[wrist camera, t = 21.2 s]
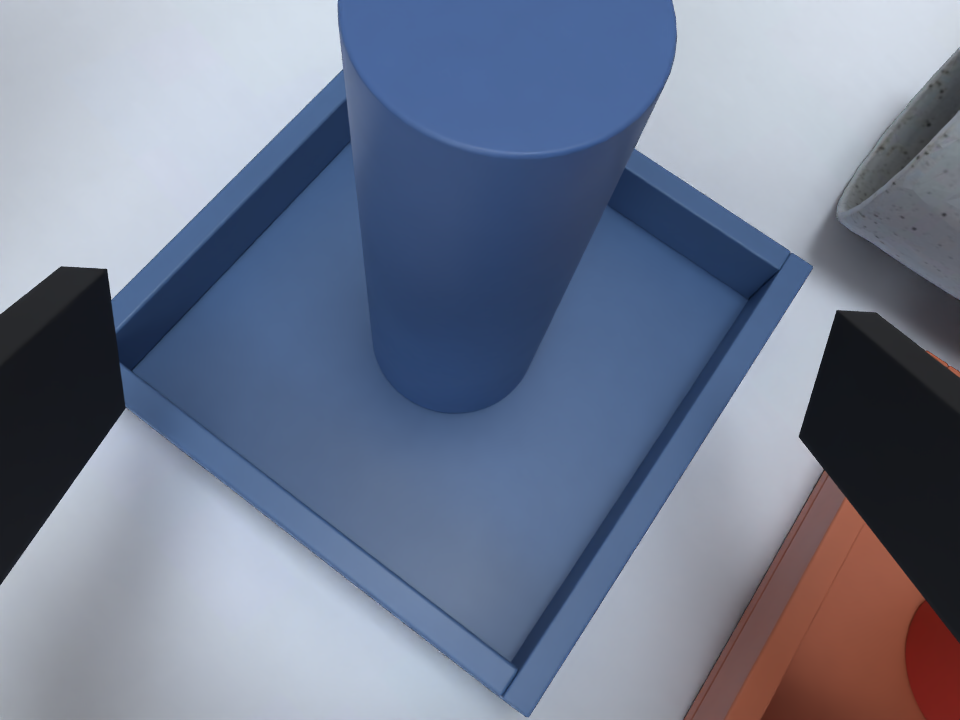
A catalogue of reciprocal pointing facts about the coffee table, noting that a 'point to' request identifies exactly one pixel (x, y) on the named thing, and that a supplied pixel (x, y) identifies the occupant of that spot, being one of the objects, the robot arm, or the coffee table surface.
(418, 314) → the blue peg
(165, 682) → the coffee table surface
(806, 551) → the orange tray
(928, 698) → the red peg
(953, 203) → the ceramic mug
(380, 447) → the blue tray
